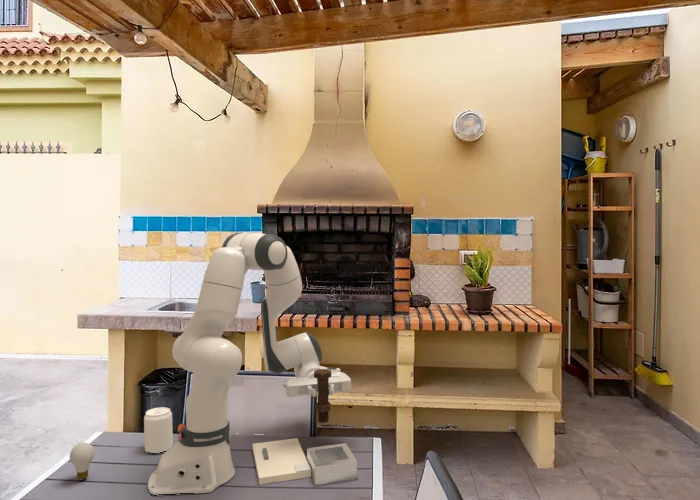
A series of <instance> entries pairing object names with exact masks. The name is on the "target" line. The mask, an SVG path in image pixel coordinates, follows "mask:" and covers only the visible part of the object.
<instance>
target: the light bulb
mask: <svg viewBox="0 0 700 500" xmlns="http://www.w3.org/2000/svg"><path fill="white" fill-rule="evenodd" d="M94 456H95V448H94V446H93V445H92V444H90V443H89V442H80V443H78V444H76V445H74V447H73V448H72V449H71V450H70V452H69V461H70V462H71V464H72V465H73V466H74V469H75V472H76V478H77V479H78V480H79V479H84V478H86V479H87V478H89V469H90V465H91V462H92V461H93V459H94Z"/></svg>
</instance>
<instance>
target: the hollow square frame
mask: <svg viewBox="0 0 700 500" xmlns="http://www.w3.org/2000/svg"><path fill="white" fill-rule="evenodd" d="M306 456H307V457H306V460H307V462H308V463H309V466H310V468H311V478H312V480H313V483H314V485H315V486H320V485H327V484H331V483H332V484H333V483H341V482H346V481H351V480H358V460H357V459H356V457H355V455H354V454H353V452H352V451H351V449H350V447H349V446H348V443H343V442H342V443H337V444H330V445H322V446H314V447H308V448H306Z"/></svg>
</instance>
